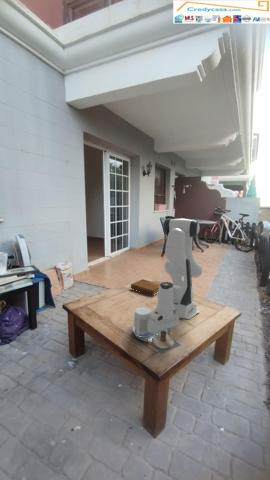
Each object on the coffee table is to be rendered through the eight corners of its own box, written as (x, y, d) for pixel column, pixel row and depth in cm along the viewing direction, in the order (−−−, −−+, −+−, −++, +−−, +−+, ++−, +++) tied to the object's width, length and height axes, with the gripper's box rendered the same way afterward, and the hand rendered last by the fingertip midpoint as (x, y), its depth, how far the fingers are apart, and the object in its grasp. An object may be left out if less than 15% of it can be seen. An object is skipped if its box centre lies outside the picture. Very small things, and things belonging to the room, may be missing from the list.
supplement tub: (152, 332, 131) (154, 309, 129) (145, 340, 123) (147, 316, 120) (138, 327, 135) (139, 305, 133) (130, 335, 127) (131, 311, 125)
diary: (130, 290, 196) (130, 284, 195) (142, 284, 211) (142, 279, 210) (152, 297, 183) (153, 290, 182) (163, 290, 198) (163, 284, 197)
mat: (164, 333, 131) (164, 332, 131) (180, 345, 119) (181, 344, 119) (145, 340, 123) (145, 339, 123) (161, 354, 111) (161, 353, 111)
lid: (163, 333, 129) (164, 324, 128) (178, 344, 119) (179, 334, 118) (147, 339, 122) (148, 329, 122) (161, 352, 113) (162, 341, 112)
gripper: (174, 305, 126) (172, 328, 128) (146, 314, 115) (145, 338, 117) (182, 310, 121) (180, 333, 123) (153, 319, 110) (152, 344, 112)
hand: (163, 335), depth 120 cm, fingers open, 8 cm apart
